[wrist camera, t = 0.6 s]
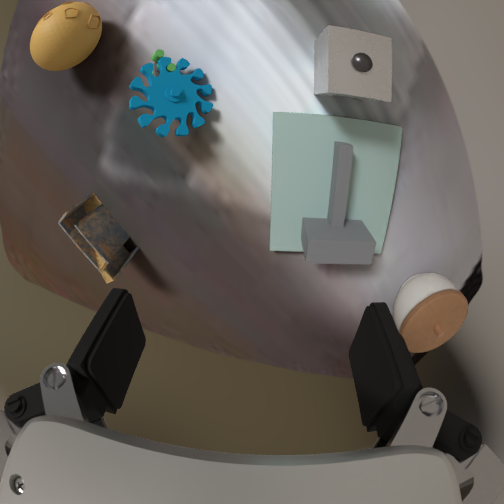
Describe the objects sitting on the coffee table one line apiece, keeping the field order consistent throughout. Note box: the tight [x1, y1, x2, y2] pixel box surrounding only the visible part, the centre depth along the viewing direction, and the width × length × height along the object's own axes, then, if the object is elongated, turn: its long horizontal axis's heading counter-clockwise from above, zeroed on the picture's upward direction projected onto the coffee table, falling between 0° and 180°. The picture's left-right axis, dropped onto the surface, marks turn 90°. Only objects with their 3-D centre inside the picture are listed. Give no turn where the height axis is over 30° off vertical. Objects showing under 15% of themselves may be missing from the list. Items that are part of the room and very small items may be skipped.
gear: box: [129, 50, 213, 137], centre depth 27 cm, size 11×6×10 cm
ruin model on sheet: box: [58, 193, 139, 283], centre depth 35 cm, size 11×3×10 cm, turn 35°
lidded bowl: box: [394, 273, 468, 353], centre depth 37 cm, size 13×13×11 cm
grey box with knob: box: [314, 25, 392, 102], centre depth 23 cm, size 7×6×8 cm
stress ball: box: [30, 1, 102, 71], centre depth 19 cm, size 10×10×10 cm
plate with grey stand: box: [270, 112, 403, 265], centre depth 31 cm, size 18×16×8 cm
